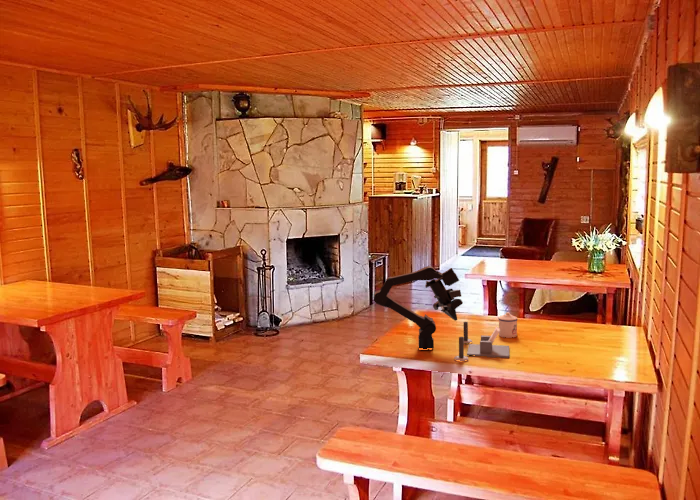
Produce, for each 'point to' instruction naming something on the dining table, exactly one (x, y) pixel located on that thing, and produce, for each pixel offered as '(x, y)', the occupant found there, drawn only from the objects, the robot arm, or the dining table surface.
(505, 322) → the teacup with lid
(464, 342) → the post
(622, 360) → the dining table surface
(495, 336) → the block
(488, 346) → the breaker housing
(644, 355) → the dining table surface
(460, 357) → the post
